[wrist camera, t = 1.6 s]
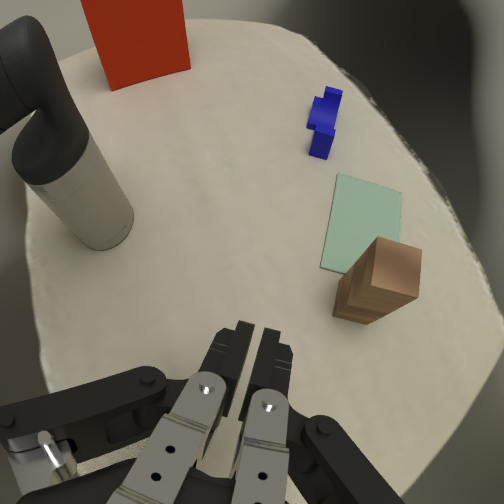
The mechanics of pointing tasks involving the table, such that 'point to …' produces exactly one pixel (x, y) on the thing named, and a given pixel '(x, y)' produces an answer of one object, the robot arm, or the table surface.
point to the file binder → (138, 38)
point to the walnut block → (379, 282)
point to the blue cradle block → (324, 122)
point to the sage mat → (359, 221)
